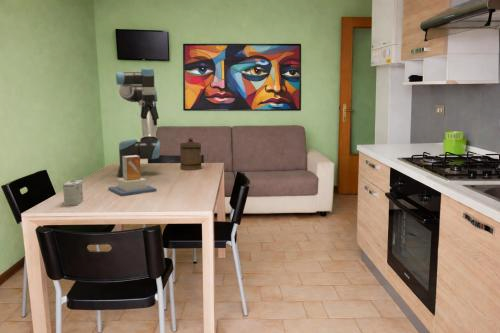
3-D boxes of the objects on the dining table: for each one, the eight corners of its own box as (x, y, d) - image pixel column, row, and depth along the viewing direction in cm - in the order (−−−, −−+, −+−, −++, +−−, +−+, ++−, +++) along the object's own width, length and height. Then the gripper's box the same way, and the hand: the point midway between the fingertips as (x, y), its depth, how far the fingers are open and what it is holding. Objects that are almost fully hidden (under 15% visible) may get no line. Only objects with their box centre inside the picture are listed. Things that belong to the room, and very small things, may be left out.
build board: (108, 190, 269) (107, 178, 268) (141, 185, 280) (141, 174, 279) (122, 196, 253) (121, 184, 252) (156, 191, 265) (156, 179, 264)
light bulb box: (70, 200, 243) (68, 180, 241) (83, 200, 244) (82, 179, 242) (63, 205, 232) (62, 184, 231) (78, 205, 233) (76, 183, 231)
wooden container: (205, 167, 343) (205, 137, 339) (192, 170, 331) (191, 139, 327) (189, 166, 351) (188, 136, 347) (176, 169, 339) (175, 138, 335)
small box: (127, 180, 261) (126, 157, 259) (122, 179, 266) (121, 156, 264) (141, 179, 265) (140, 156, 263) (136, 177, 270) (135, 154, 268)
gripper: (134, 94, 291) (135, 129, 294) (151, 94, 271) (153, 131, 275) (145, 94, 296) (146, 128, 299) (163, 94, 276) (165, 131, 279)
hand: (149, 130), depth 287 cm, fingers open, 13 cm apart
